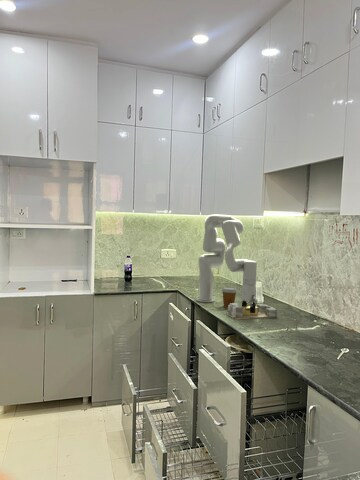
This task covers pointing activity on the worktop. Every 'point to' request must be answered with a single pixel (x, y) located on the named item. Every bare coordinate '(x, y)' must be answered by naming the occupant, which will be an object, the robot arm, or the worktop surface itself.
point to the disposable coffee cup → (228, 295)
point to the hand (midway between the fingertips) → (248, 310)
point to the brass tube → (247, 310)
